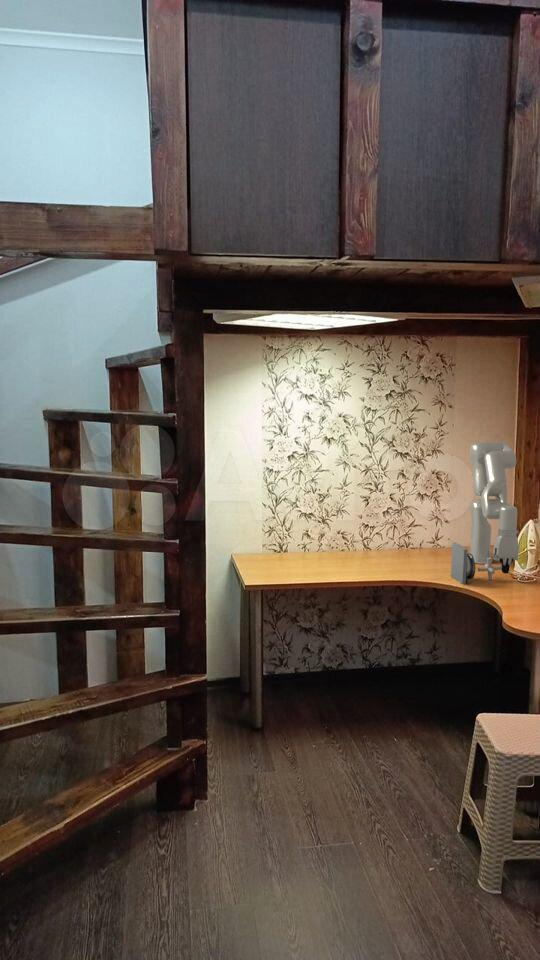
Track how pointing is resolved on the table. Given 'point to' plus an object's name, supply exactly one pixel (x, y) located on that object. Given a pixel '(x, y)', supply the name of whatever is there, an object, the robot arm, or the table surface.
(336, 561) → the table surface
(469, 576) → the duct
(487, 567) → the pipe connector
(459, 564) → the mounting panel
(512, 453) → the robot arm
